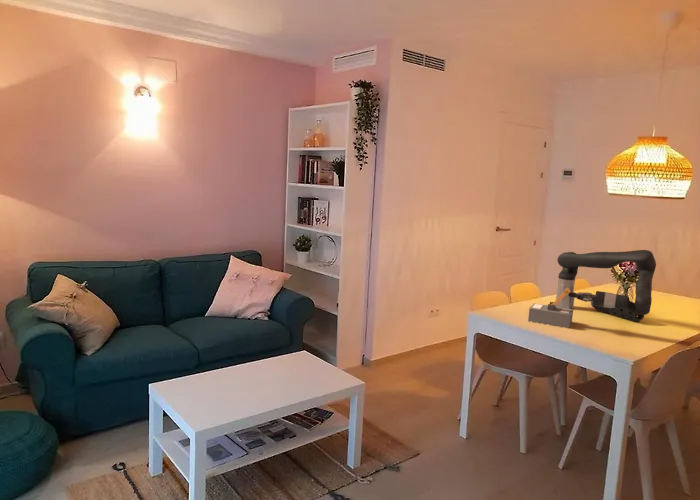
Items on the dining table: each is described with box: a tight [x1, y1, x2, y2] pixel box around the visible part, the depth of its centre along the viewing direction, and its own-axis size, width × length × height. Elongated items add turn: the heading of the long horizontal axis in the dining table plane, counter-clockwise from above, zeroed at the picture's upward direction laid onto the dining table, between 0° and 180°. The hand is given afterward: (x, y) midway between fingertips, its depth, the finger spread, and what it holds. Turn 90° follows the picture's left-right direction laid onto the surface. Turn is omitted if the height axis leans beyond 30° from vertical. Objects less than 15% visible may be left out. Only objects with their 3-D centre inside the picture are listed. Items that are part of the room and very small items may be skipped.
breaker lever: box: [551, 288, 571, 306], centre depth 272 cm, size 2×5×13 cm
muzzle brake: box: [590, 301, 645, 323], centre depth 295 cm, size 10×28×10 cm, turn 27°
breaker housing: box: [527, 301, 574, 329], centre depth 275 cm, size 20×14×10 cm
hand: (568, 294), depth 270 cm, fingers closed
